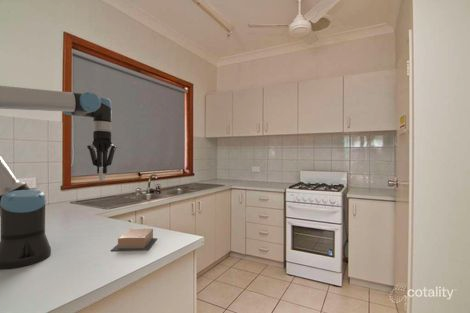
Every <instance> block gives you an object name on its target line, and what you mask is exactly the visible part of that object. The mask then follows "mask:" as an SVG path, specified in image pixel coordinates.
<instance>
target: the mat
mask: <svg viewBox="0 0 470 313" xmlns="http://www.w3.org/2000/svg"><path fill="white" fill-rule="evenodd" d="M157 240H158V238H156V237H153V238H152V240H151V241H150V242H149V243H148V244H147V246H146V247H145V248H122V249H118V243H117V244H116V245H115V246H114V247H113V248H111V249H110V252H127V251H128V252H129V251H131V252H132V251H134V252H135V251H136V252H137V251H150V249H151V248H152V246H154V244H155V242H157Z"/></svg>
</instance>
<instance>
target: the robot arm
mask: <svg viewBox="0 0 470 313" xmlns="http://www.w3.org/2000/svg"><path fill="white" fill-rule="evenodd" d="M0 110H24V111H25V110H26V111H27V110H28V111H46V112H49V111H50V112H51V111H52V112H62V113H63V114H65V115H67V116H73V117H75V116H76V117H85V118H92V119H93V126H92V128H93V131H92V133H93V135H92V136H93V141H92V143H91V144H90V145H89V144H88V145H87V146H86V147H87V149H88V151H89V154H90V155H89V156H90V158H91V162H92V166H94V167H97V170H96V173H97V174H98V181H99V182H102V181H106V174H108V173H107V172H108V167H110V166H111V165H112V162H113V158H114V155H115V152H116V150H117V148H118V146H117V145H114V144H113V142H112V132H111V131H112V101H111V100H110V98H106V97H99V96H98V95H97V94H96V93H94V92H90V91H89V92H87V91H86V92H84V93H81V92H73V91H72V92H71V91H70V92H69V91H59V90H50V89H39V88H29V87H28V88H27V87H20V86H19V87H18V86H10V85H8V86H7V85H0ZM95 150H96V151H95ZM46 203H47V199H46V195H45V193H44V192H43V191H41V190H35V189H31V188H30V187H29V185H28V184H27V182H25V181H22V180H19V179H18V178H16V175H15V174H14V173H13V172H12V170H11V169H10V167H9V165H8V164H7V163H6V162H5V160H4V158H2V156H1V155H0V270H1V269H3V270H6V269H15V268H21V267H26V266H29V265H33V264H36V263H40V262H42V261H43V260H45V259H47V258H49V257H50V256H51V254H52V248H51V245H50V243H49V241H48V240H49V239H48V237H47V235H46Z"/></svg>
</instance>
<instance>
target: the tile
mask: <svg viewBox="0 0 470 313" xmlns="http://www.w3.org/2000/svg"><path fill="white" fill-rule="evenodd" d="M152 238H154V228H129V229H128V230H127V231H125V232H124V233H123V234H122V235H120V236H119V237H118V238H117V244H118V249H122V248H145V247H146V246H147V244H148V243H149V242H150V241H151V240H152Z"/></svg>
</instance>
